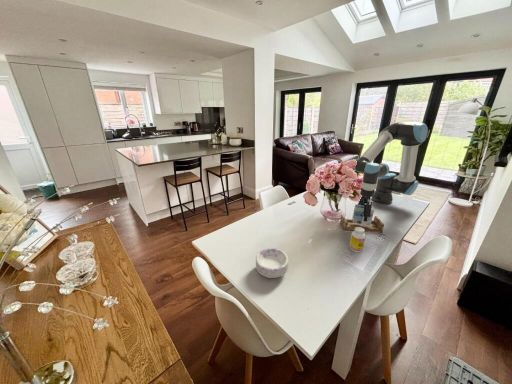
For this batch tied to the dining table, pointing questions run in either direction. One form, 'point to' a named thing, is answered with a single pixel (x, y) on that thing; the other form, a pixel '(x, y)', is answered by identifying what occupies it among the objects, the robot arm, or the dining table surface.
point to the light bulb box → (359, 212)
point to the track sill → (350, 226)
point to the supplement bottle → (357, 239)
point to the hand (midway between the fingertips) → (361, 221)
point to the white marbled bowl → (272, 262)
